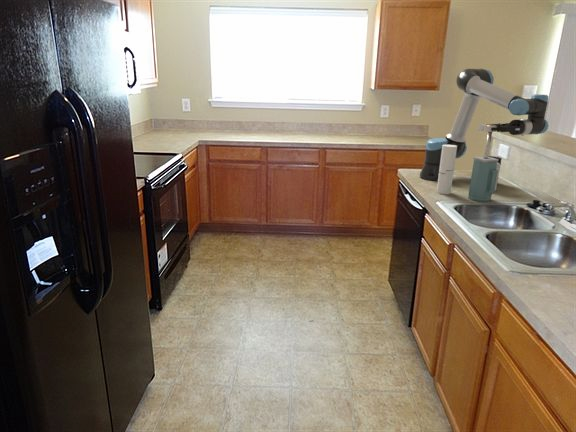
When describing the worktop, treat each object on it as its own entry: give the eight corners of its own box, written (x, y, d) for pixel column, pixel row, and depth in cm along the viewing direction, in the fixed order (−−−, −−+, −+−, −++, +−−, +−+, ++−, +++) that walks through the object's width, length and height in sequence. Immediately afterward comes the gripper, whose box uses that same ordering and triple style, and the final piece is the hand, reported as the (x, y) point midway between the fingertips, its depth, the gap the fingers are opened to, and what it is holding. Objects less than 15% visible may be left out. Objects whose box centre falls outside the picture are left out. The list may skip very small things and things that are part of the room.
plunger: (472, 174, 220) (479, 124, 212) (483, 173, 222) (491, 124, 214) (482, 177, 214) (491, 126, 206) (494, 176, 216) (502, 125, 208)
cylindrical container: (451, 194, 229) (458, 147, 221) (437, 193, 230) (443, 146, 222) (449, 191, 236) (455, 145, 228) (435, 190, 237) (441, 144, 229)
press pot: (463, 196, 225) (469, 156, 218) (479, 195, 228) (486, 155, 221) (482, 204, 213) (489, 162, 206) (499, 202, 217) (506, 160, 210)
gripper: (532, 137, 210) (493, 138, 202) (505, 132, 225) (468, 134, 217) (535, 121, 208) (496, 122, 200) (507, 117, 222) (470, 118, 215)
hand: (481, 128), depth 209 cm, fingers closed on plunger, 4 cm apart
